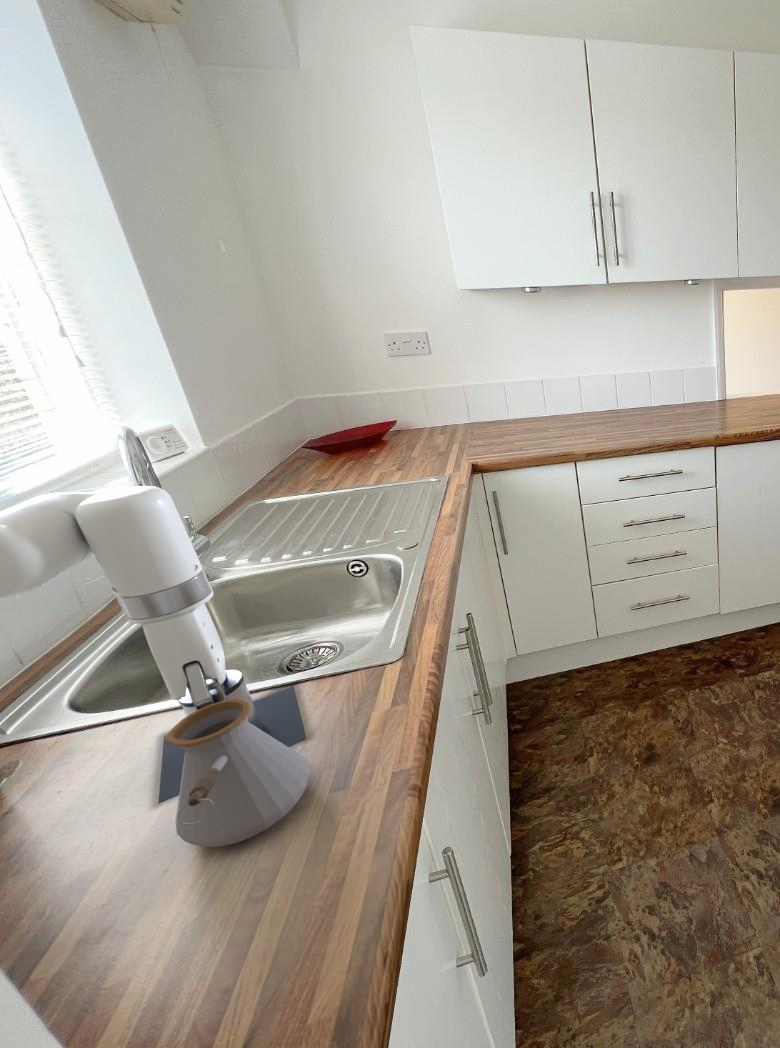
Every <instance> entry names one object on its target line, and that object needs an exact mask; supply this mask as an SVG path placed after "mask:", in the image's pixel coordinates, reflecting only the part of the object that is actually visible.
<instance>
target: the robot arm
mask: <svg viewBox="0 0 780 1048" xmlns="http://www.w3.org/2000/svg"><path fill="white" fill-rule="evenodd" d="M92 557H95V559H96V561H97V563H98V565H99V567H100V569H101V571H102V573H103V575H104V576H105V578H106V580H107V582H108V584H109V586H110V588H111V590H112V593H113V594H114V596H115V599H116V600H117V603H118V604H119V606H120V607H121V610H122V612H123V613H124V615H125V618H126V619H127V621H128V623H131V624H134V625H135V624H136V625H141V626H142V630H143V633H144V635H145V639H146V642H147V644H148V646H149V647H148V648H149V649H150V652H151V654H152V656H153V659H154V662H155V663H156V666H157V668H158V670H159V673H160V675H161V677H162V679H163V682H164V684H165V686H166V688H167V691H168V693H169V696H170V697H171V699H172V700H175V701H178V700H180V699H181V698H182V697H185V696H186V689H187V688H188V691H189V693H190V696H191V698H192V701H193V703H194V706H195V708H196V711H197V710H199V709H201V708H203V707H206V706H208V705H211V704H214V703H217V702H220V701H225V700H228V699H227V697H226V694H225V692H224V689H223V686H222V683H223V682H224V681H225V679H226V670H227V669H226V659H225V652H224V648H223V644H222V641H221V639H220V636H219V633H218V630H217V628H216V626H215V625H216V624H215V623H214V621H213V619H212V616H211V615H210V612H209V609H208V607H207V606H206V603H208V602H209V601H210V600H211V599H213V597H214V590H213V588H212V586H211V584H210V581H209V579H208V577H207V574H206V572H205V570H204V568H203V565H202V563H201V562H200V559H199V556H198V554H197V552H196V550H195V548H194V545H193V544H192V540H191V539H190V536H189V533H188V531H187V529H186V527H185V525H184V522H183V520H182V518H181V516H180V514H179V511H178V509H177V507H176V505H175V502H174V500H173V498H172V496H171V495H170V494H169V492H167V491H166V490H165V489H163V488H161V487H158V486H155V485H138V486H130V487H124V488H118V489H115V490H110V491H106V492H69V491H68V492H54V493H47V494H43V495H39V496H36V497H33V498H30V499H28V500H25V501H23V502H21V503H19V504H17V505H14V506H11V507H8V508H6V509H4V510H1V511H0V598H10V597H15V596H19V595H24V594H27V593H30V592H32V591H34V590H35V589H37V588H39V587H41V586H42V585H45V584H46V583H48V582H50V581H51V580H53V579H54V578H56V577H57V576H59V575H60V574H62V573H64V572H65V571H67V570H69V569H70V568H71V567H74V566H76V565H78V564H80V563H82V562H84V561H86V560H88V559H90V558H92ZM212 678H213V679H214V681H215V682H214V683H211V684H208V685H207V682H206V680H209V679H212ZM214 688H215V689H216V691H217V694H218V697H217V696H216V695H213V696H212V694H211V693H210V691H209V690H211V689H214Z"/></svg>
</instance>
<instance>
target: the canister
mask: <svg viewBox="0 0 780 1048" xmlns="http://www.w3.org/2000/svg"><path fill="white" fill-rule="evenodd" d="M244 679H245V677H244V675H243V673H242V672H241V671H239V670H237V669H226V679H225V681H224V682H223V683H222V686H223V689H224V692H225V694H226V697H227V699H228V700H230V699H241V700H245V701H246V702H248V703H249V704H250V707H251V708H250V712H249V714H248V722H249V723H251V724H252V725H254V726H256V727H257V728H259V729H260V730H262V729H263V723H262V721H261V718H260V716H259V714H258V712H257V709H256V707H255V705H254V703H253V701H254V700H253V698H252V696H251V693H250V691H249V688H248V687H247V685H246V683H245V680H244ZM206 682H207V685H208V684H211V683H214V682H215V681H214V679H213V678H212V679H209V680H206ZM209 691H210V693H211V694H212V696H213V695H216V696H217V697H218V694H217V691H216V689H215V688H214V689H211V690H209ZM177 702H178V704H179V705H180V706H181V707H182V710H183V711H184V713H185V715H186V717H187V716H188V715H190V714H191V713H193V712H195V711H196V708H195V706H194V703H193V701H192V698H191V696H190V693H189V691H188V688H187V689H186V696H185V697H182V698H181V699H180V700H177Z"/></svg>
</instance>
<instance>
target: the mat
mask: <svg viewBox="0 0 780 1048" xmlns="http://www.w3.org/2000/svg"><path fill="white" fill-rule="evenodd" d="M253 703H254V705H255V707H256V709H257V712H258V714H259V716H260V718H261V721H262V723H263V729H262V731H263V732H265V733H267V734H268V735H270V736H271V737H273V738H275V739H276V740H278V741H279V742H281V743H282V744H284V745H286V746H287V747H289V748H290V747H292V746H294V745H296V744H298V743H300V742H303V741H305V740H307V735H306V731H305V728H304V723H303V719H302V715H301V710H300V707H299V704H298V699H297V694H296V691H295V687H294V685H292V686H289V687H286V688H284V689H282V690H278V691H276V692H274V693H272V694H268V695H266V696H264V697H261V698H259V699H256V700H253ZM166 735H167V734H165V735H164V736H163V743H162V755H161V756H162V757H161V769H160V778H159V790H158V791H159V793H158V794H159V795H158V804H161V803H163V802H165V801H168V800H170V799H172V798H174V797H177V796H179V793H180V786H181V779H182V771H183V764H184V757H185V750H184V749H182V748H181V747H178V746H174V745H172V744H170V743H168V742H167V741H166V740H165V739H164V737H165V736H166Z"/></svg>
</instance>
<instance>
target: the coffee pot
mask: <svg viewBox="0 0 780 1048" xmlns="http://www.w3.org/2000/svg"><path fill="white" fill-rule="evenodd" d="M250 708H251V707H250V704H249V703H248V702H246V701H245V700H241V699H230V700H225V701H220V702H217V703H214V704H211V705H208V706H206V707H203V708H201V709H199V710H197V711H195V712H193V713H191V714H190V715H188V716H187V715H186V716H185V717H184V718H182V719H181V720H180V721H178V723H176V724H175V725H174V726H173V727H172V728H171V729H170V730H169V731H168V732H167V734H165V735H166V736H165V735H164V736H165V737H164V736H163V740H164V739H165V740H166V741H167V742H168V743H170V744H172V745H174V746H178V747H181V748H182V749H184V750H185V757H184V764H183V771H182V779H181V786H180V793H179V795H178V801H177V807H176V814H175V815H176V816H175V822H174V823H175V829H176V834H177V836H178V837H180V839H181V840H182V841H184V842H185V843H188V844H191V845H193V846H197V847H200V848H216V847H217V848H219V847H226V846H230V845H234V844H238V843H240V842H243V841H246V840H248V839H251V838H253V837H255V836H257V835H258V834H260V833H262V832H264V831H266V830H267V829H269V828H270V827H272V826H273V825H275V824H276V823H277V822H279V821H281V820H282V819H283V818H284V817H285V816H286V815H287V814H288V813H289V812H290V811H292V809H293V808H294V807H295V805H296V804H297V803H298V802H299V800H300V798H301V797H302V796H303V795H304V793H305V790H306V789H307V786H308V783H309V779H310V770H311V769H310V767H311V766H310V764H309V762H308V760H307V758H306V757H304V756H303V755H301V754H300V753H298V752H297V751H295V750H294V749H292V748H290V746H289V747H287V746H286V745H284V744H282V743H281V742H279V741H278V740H276V739H275V738H273V737H271V736H270V735H268V734H267V733H265V732H263V731H262V730H260V729H259V728H257V727H256V726H254V725H252V724H251V723H249V722H248V714H249V712H250Z"/></svg>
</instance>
